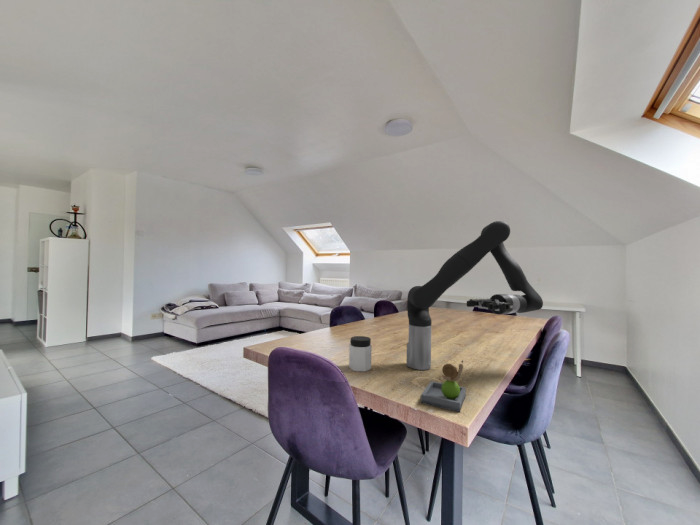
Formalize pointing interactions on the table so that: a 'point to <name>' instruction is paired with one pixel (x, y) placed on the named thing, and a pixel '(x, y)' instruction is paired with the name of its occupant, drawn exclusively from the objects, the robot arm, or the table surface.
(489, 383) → the table surface
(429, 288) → the robot arm
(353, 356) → the jar
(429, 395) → the tray
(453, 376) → the snail figurine
